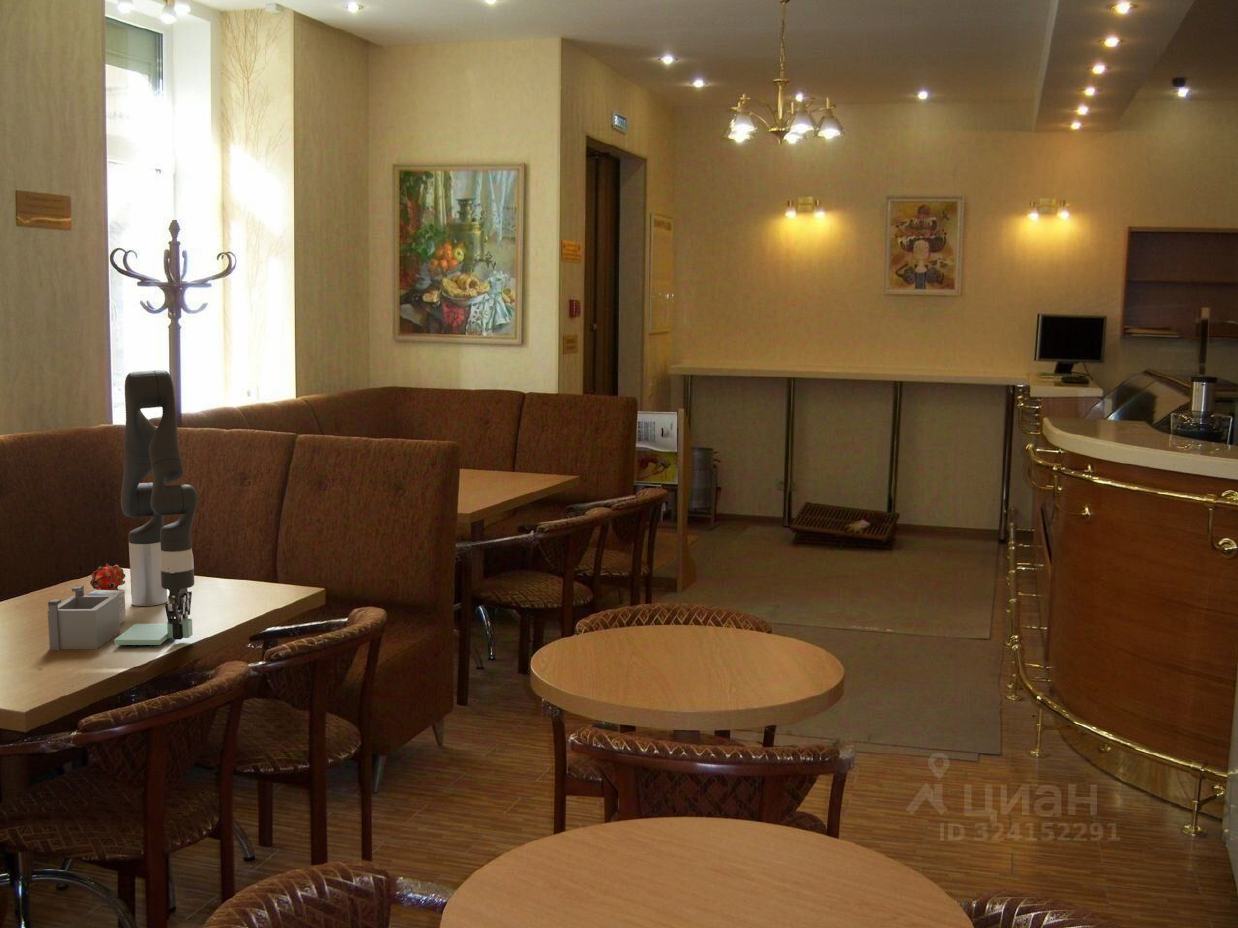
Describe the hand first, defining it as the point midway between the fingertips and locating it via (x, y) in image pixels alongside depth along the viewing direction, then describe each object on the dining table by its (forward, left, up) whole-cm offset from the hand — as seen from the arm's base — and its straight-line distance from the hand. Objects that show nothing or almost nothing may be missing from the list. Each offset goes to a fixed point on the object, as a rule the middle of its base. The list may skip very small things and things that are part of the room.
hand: (180, 636), depth 291 cm
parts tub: (-1, -23, -2) cm, 23 cm away
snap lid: (0, -5, 0) cm, 5 cm away
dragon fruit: (-54, -37, -2) cm, 65 cm away
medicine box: (-18, -24, -2) cm, 30 cm away
